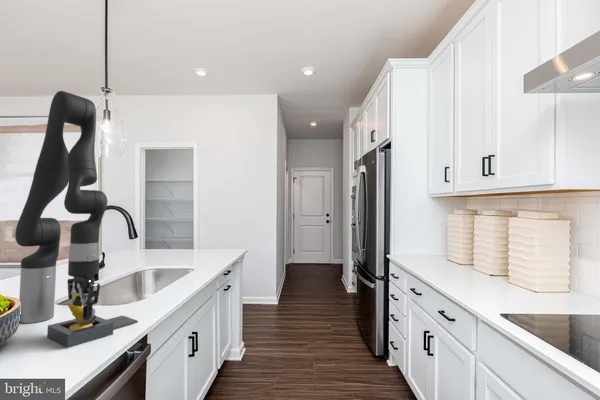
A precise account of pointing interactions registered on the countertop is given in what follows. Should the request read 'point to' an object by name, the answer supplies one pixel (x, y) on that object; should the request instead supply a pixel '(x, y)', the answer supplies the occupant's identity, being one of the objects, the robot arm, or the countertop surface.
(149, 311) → the countertop surface
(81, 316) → the ridged yellow cone
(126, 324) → the rest mat
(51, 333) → the grey open box
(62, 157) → the robot arm
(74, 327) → the button
